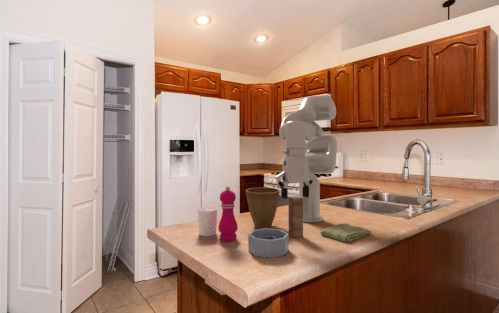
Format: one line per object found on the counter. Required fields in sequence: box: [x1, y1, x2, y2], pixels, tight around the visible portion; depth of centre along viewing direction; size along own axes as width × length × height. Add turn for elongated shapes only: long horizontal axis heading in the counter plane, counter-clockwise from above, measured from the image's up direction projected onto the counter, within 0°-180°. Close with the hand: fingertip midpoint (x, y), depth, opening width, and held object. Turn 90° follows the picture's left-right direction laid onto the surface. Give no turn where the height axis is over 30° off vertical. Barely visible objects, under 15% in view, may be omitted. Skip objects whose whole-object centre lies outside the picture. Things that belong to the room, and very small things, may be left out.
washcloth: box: [320, 222, 373, 244], centre depth 111 cm, size 13×18×3 cm
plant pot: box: [245, 186, 281, 229], centre depth 124 cm, size 15×15×16 cm
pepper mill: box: [218, 185, 239, 243], centre depth 106 cm, size 7×7×20 cm
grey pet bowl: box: [247, 228, 290, 259], centre depth 94 cm, size 12×12×6 cm
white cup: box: [197, 206, 218, 237], centre depth 113 cm, size 8×8×10 cm
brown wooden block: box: [288, 195, 304, 239], centre depth 110 cm, size 4×4×15 cm
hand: (295, 197), depth 109 cm, fingers open, 9 cm apart
